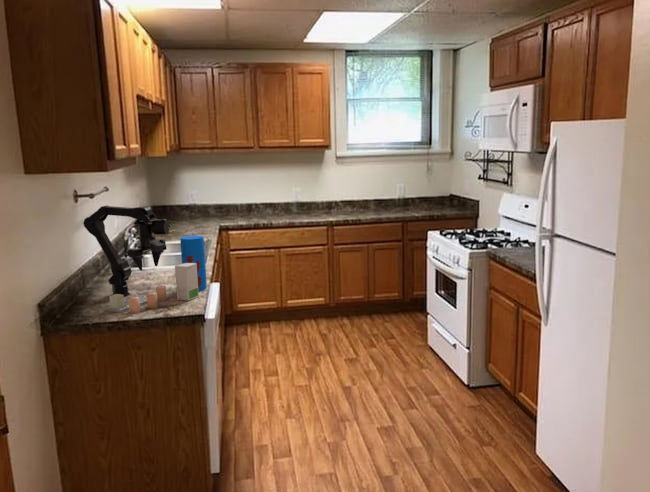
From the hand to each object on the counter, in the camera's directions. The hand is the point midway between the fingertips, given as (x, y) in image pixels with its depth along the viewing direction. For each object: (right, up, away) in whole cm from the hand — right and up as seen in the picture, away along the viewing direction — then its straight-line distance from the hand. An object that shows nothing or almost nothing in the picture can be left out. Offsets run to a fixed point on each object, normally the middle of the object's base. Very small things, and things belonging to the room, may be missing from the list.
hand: (148, 268), depth 247 cm
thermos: (+18, -11, +13) cm, 25 cm away
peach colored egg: (+1, -17, -22) cm, 28 cm away
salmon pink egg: (+7, -16, -16) cm, 23 cm away
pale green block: (-7, -16, -18) cm, 25 cm away
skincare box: (+19, -14, -3) cm, 23 cm away
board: (-4, -16, -13) cm, 21 cm away
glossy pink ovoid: (+7, -14, -5) cm, 17 cm away
